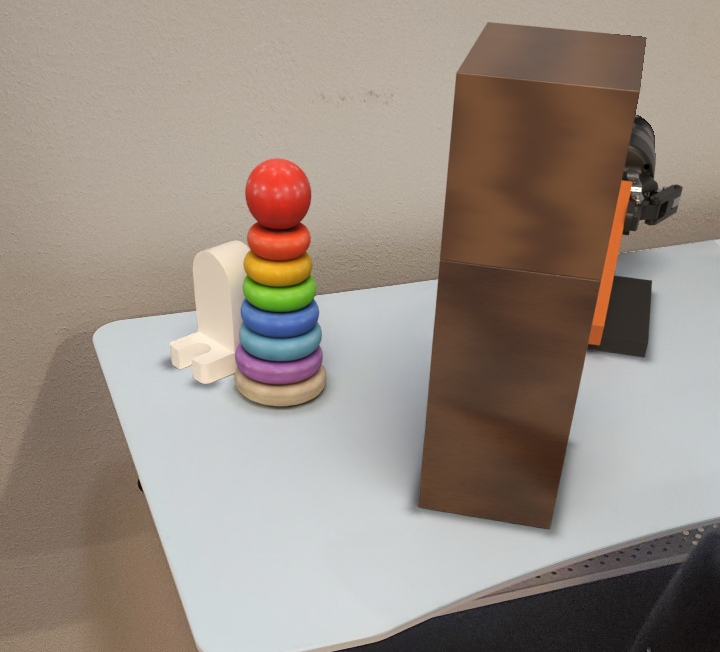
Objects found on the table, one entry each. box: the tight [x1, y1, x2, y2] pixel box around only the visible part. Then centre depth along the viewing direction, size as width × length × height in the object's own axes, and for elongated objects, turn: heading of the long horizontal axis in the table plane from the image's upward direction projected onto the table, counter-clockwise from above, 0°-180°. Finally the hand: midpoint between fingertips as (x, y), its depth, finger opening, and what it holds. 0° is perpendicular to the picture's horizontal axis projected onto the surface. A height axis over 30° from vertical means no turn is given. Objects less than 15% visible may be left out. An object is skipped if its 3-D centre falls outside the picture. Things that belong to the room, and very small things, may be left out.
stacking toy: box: [233, 157, 327, 407], centre depth 81 cm, size 8×8×19 cm
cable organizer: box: [169, 239, 251, 385], centre depth 88 cm, size 5×10×10 cm, turn 134°
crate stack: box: [417, 21, 647, 530], centre depth 69 cm, size 10×12×30 cm
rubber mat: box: [587, 275, 653, 358], centre depth 99 cm, size 10×14×2 cm
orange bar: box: [588, 181, 632, 345], centre depth 95 cm, size 3×19×2 cm, turn 166°
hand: (608, 222), depth 96 cm, fingers closed on orange bar, 3 cm apart
